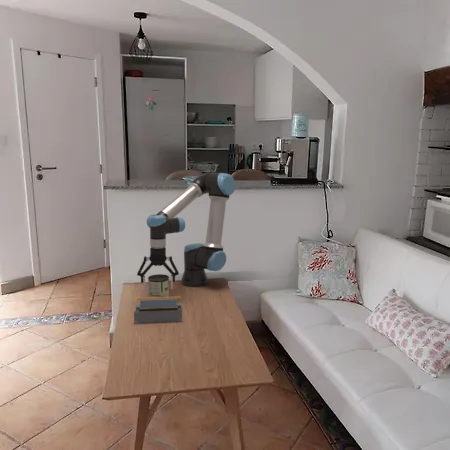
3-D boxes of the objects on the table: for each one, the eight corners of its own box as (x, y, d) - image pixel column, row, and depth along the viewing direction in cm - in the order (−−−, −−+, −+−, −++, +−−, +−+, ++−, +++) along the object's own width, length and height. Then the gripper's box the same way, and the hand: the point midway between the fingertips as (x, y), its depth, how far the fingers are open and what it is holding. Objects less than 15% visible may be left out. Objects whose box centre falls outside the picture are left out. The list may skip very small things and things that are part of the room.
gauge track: (180, 307, 211) (180, 297, 211) (181, 321, 193) (181, 311, 192) (136, 309, 209) (136, 299, 208) (134, 323, 190) (133, 313, 190)
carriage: (181, 304, 210) (181, 295, 210) (181, 307, 208) (181, 297, 207) (135, 306, 207) (135, 297, 207) (135, 308, 205) (135, 299, 204)
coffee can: (151, 300, 221) (151, 273, 219) (171, 301, 220) (171, 274, 218) (146, 307, 211) (145, 279, 209) (166, 308, 210) (166, 280, 208)
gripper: (183, 245, 216) (182, 286, 219) (132, 245, 213) (133, 287, 216) (183, 248, 209) (183, 290, 212) (131, 248, 205) (132, 291, 209)
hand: (158, 288), depth 214 cm, fingers open, 13 cm apart
